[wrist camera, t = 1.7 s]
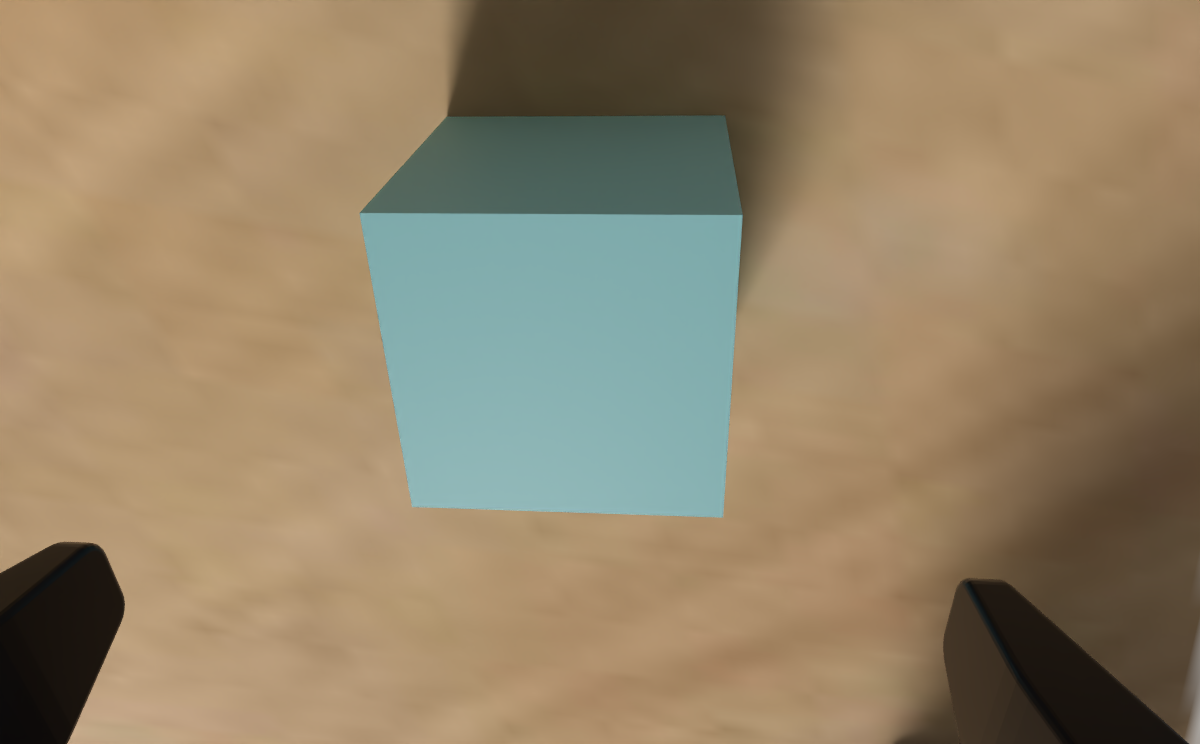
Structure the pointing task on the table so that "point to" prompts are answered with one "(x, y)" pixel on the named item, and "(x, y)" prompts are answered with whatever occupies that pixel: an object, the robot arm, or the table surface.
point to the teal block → (562, 312)
